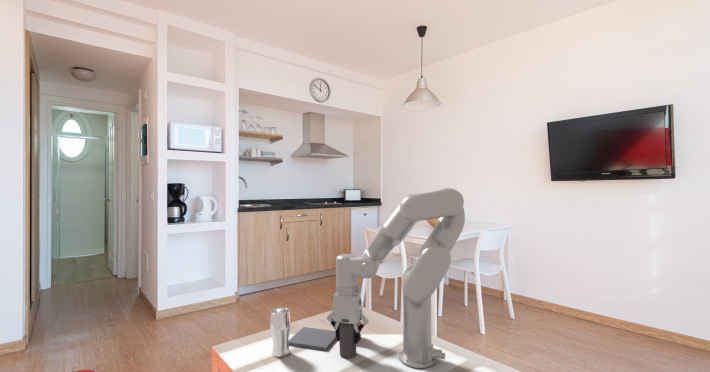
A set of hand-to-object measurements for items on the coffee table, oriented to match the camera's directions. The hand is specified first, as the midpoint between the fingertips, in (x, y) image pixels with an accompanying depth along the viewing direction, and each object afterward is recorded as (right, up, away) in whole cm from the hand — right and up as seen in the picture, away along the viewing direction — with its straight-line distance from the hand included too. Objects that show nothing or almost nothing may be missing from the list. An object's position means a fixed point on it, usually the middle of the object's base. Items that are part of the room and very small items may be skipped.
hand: (347, 340), depth 120 cm
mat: (-13, -5, +12) cm, 18 cm away
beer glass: (-24, -5, +1) cm, 25 cm away
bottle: (0, -5, 0) cm, 5 cm away
